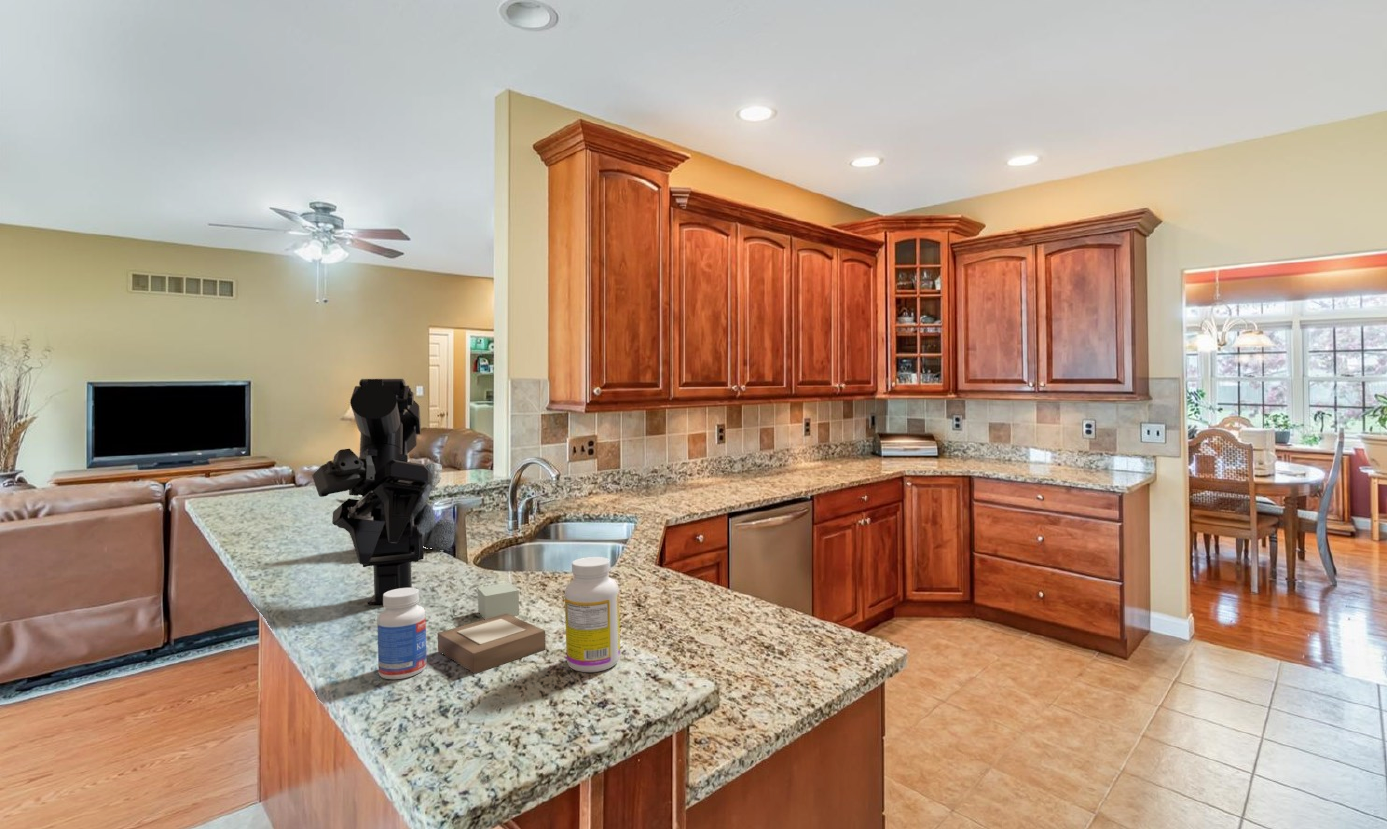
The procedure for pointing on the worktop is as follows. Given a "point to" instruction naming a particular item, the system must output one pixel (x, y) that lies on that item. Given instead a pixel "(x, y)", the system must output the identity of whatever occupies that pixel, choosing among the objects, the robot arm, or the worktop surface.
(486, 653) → the plinth
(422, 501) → the koala plush
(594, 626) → the supplement bottle
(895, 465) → the worktop surface
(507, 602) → the block
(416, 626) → the pill bottle
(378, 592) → the robot arm
